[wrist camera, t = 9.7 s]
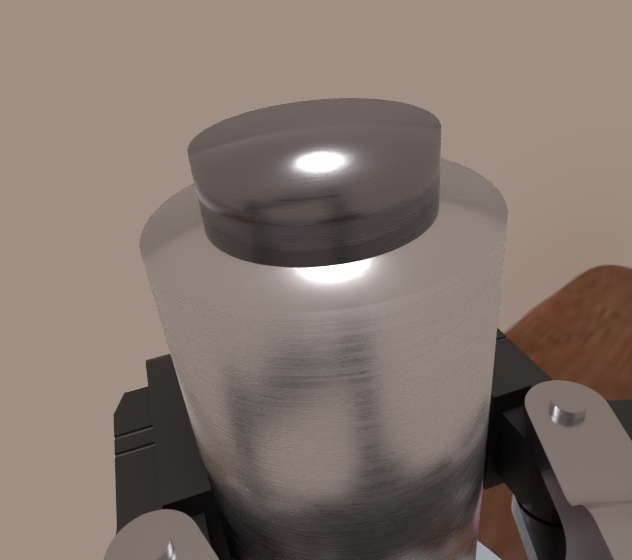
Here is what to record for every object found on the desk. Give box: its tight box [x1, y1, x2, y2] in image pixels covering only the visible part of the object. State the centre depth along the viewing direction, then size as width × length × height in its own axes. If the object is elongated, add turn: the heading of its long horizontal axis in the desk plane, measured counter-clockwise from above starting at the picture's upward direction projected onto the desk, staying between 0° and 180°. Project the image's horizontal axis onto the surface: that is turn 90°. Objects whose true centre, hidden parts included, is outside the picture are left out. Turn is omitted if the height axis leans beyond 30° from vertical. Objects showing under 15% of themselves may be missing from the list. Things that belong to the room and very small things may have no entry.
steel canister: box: [140, 98, 508, 560], centre depth 10 cm, size 5×5×12 cm
